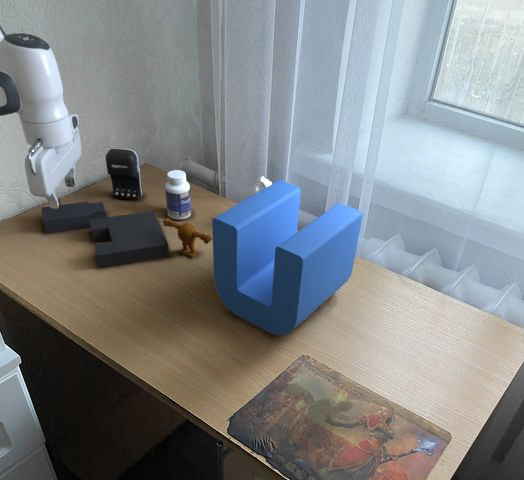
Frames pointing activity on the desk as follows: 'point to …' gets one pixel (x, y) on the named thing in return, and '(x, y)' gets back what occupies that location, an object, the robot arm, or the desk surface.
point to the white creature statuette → (261, 184)
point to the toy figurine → (187, 236)
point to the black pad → (128, 239)
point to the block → (281, 257)
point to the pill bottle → (178, 195)
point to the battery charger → (124, 173)
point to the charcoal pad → (71, 216)
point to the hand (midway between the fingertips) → (63, 195)
